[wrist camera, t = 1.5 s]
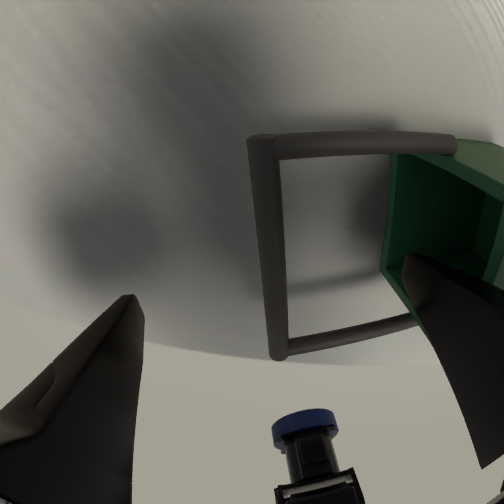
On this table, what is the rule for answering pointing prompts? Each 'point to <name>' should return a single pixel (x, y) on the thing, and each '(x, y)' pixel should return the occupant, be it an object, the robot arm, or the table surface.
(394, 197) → the pail
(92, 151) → the table surface
